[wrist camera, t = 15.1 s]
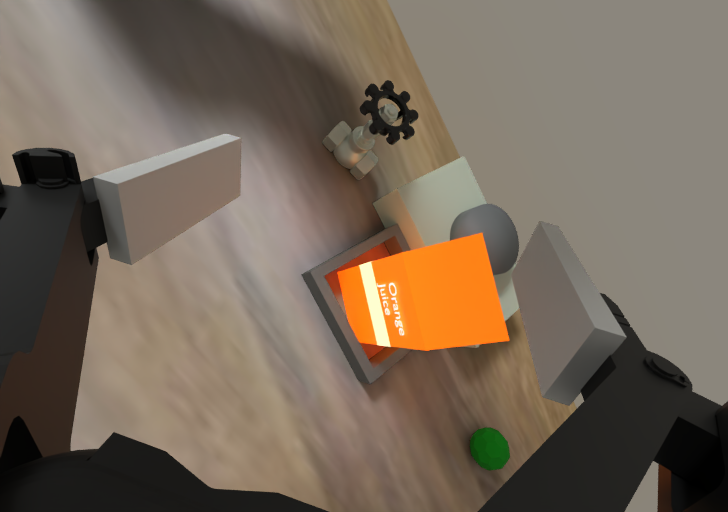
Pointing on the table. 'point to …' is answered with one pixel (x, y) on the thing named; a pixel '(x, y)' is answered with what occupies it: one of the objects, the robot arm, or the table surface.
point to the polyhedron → (489, 448)
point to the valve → (371, 130)
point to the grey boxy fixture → (417, 230)
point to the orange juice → (426, 298)
